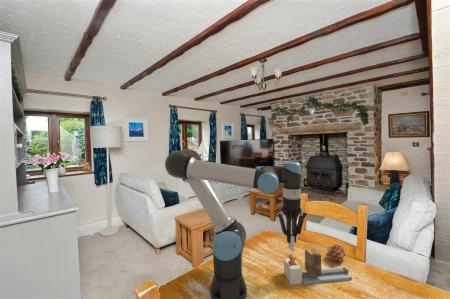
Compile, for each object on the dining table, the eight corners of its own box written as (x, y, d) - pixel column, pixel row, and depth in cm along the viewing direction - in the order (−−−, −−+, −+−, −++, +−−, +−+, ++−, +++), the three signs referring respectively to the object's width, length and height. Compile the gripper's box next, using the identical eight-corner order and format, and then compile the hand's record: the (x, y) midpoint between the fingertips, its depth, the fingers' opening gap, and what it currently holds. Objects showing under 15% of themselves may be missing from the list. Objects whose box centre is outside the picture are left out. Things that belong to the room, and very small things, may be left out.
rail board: (303, 284, 92) (303, 277, 92) (296, 274, 99) (296, 267, 99) (351, 279, 94) (352, 273, 94) (341, 269, 101) (341, 263, 101)
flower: (345, 253, 112) (335, 239, 113) (354, 259, 103) (343, 245, 104) (330, 263, 112) (320, 250, 113) (338, 271, 103) (327, 256, 104)
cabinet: (290, 284, 92) (290, 269, 91) (283, 273, 100) (283, 258, 99) (302, 283, 92) (301, 268, 92) (294, 272, 100) (294, 257, 100)
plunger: (290, 270, 94) (290, 258, 94) (287, 266, 97) (287, 254, 97) (297, 270, 94) (297, 257, 94) (294, 265, 97) (294, 253, 97)
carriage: (310, 276, 93) (310, 254, 92) (304, 269, 98) (304, 248, 97) (321, 275, 93) (321, 253, 93) (315, 268, 98) (315, 248, 98)
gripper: (280, 200, 89) (280, 254, 91) (310, 199, 90) (309, 252, 92) (274, 195, 97) (274, 245, 98) (302, 194, 98) (301, 244, 100)
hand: (291, 249), depth 95 cm, fingers closed
